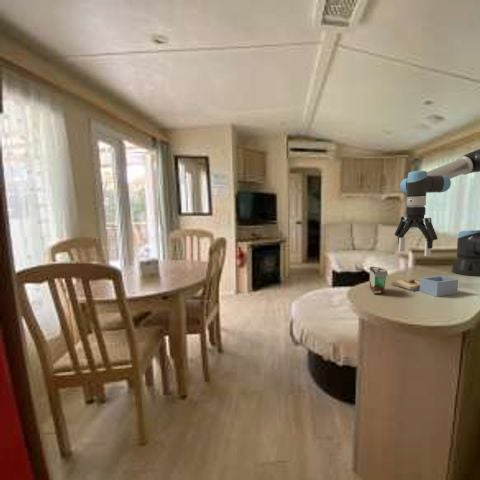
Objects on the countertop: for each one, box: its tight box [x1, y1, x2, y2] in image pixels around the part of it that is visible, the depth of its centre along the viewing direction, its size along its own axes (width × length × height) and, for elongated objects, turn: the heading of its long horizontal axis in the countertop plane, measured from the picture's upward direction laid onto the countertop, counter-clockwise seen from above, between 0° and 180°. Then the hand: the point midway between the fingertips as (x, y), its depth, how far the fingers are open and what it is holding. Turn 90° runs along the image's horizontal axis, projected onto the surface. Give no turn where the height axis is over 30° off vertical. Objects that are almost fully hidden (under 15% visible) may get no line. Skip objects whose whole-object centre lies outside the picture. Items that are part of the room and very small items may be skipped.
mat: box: [390, 282, 420, 292], centre depth 145 cm, size 12×12×1 cm
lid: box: [391, 278, 420, 290], centre depth 145 cm, size 13×10×2 cm
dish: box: [419, 275, 459, 298], centre depth 135 cm, size 12×8×6 cm, turn 110°
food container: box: [369, 266, 389, 296], centre depth 137 cm, size 12×6×10 cm, turn 168°
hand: (414, 253), depth 143 cm, fingers open, 13 cm apart
